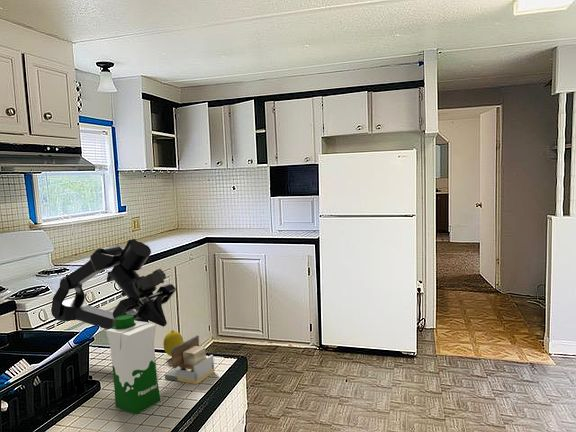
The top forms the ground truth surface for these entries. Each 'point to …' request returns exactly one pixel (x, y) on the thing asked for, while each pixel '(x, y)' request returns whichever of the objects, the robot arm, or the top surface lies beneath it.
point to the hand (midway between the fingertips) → (165, 325)
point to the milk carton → (133, 364)
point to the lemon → (172, 341)
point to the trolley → (188, 354)
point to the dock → (198, 375)
